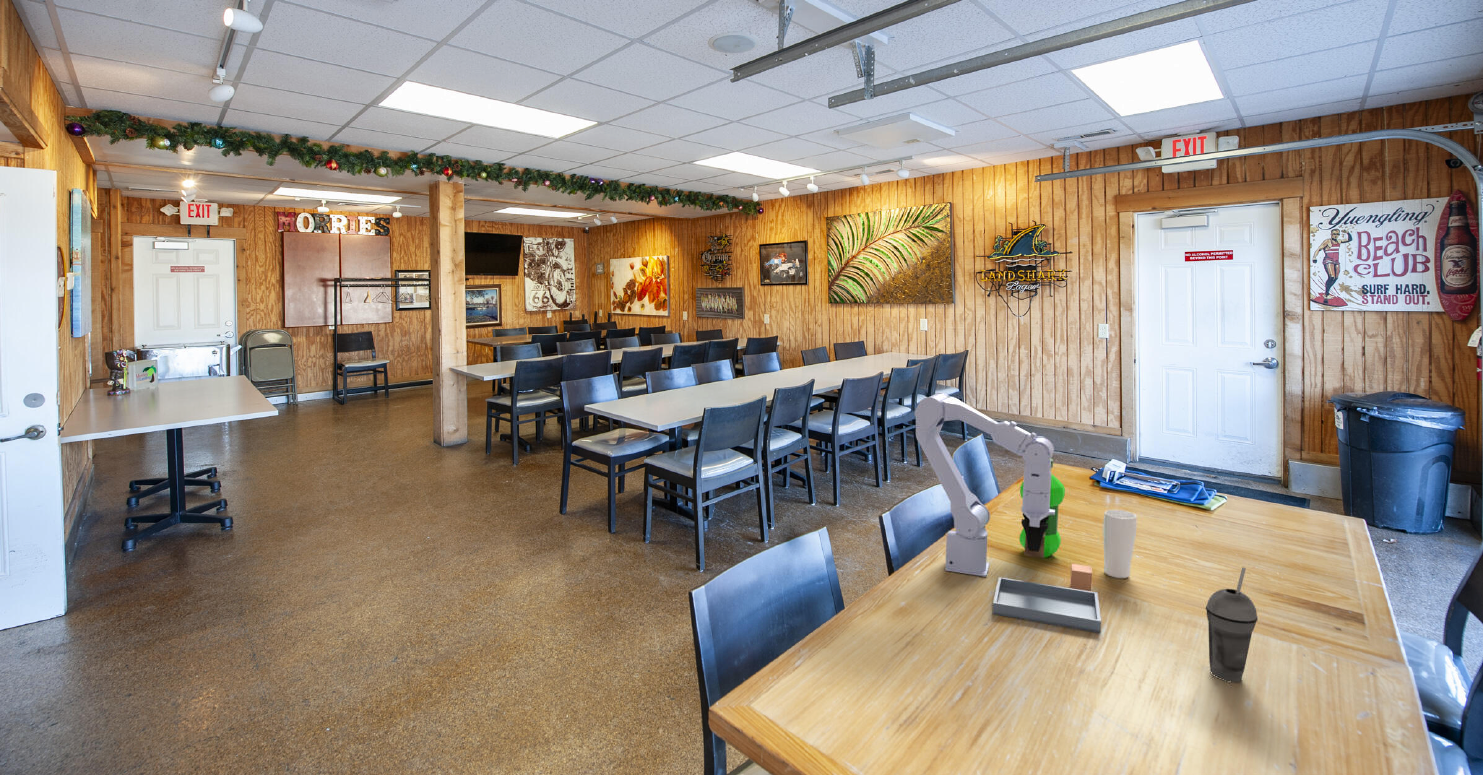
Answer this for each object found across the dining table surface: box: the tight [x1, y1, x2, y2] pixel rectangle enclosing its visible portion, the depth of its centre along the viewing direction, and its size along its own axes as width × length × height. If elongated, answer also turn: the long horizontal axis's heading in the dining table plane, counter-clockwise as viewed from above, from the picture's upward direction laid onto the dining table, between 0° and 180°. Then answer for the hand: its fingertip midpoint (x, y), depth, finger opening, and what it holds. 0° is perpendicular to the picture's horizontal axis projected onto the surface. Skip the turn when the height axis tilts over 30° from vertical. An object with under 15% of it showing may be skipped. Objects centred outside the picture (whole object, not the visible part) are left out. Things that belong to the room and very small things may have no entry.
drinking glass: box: [1102, 509, 1138, 579], centre depth 157 cm, size 7×7×15 cm
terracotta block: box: [1070, 563, 1093, 592], centre depth 150 cm, size 4×4×5 cm
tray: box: [992, 576, 1102, 634], centre depth 141 cm, size 20×14×2 cm
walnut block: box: [1024, 533, 1045, 559], centre depth 153 cm, size 4×4×5 cm
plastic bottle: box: [1018, 458, 1066, 558], centre depth 170 cm, size 10×10×25 cm
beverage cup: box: [1205, 567, 1258, 683], centre depth 115 cm, size 7×7×20 cm
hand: (1033, 547), depth 154 cm, fingers closed on walnut block, 4 cm apart
